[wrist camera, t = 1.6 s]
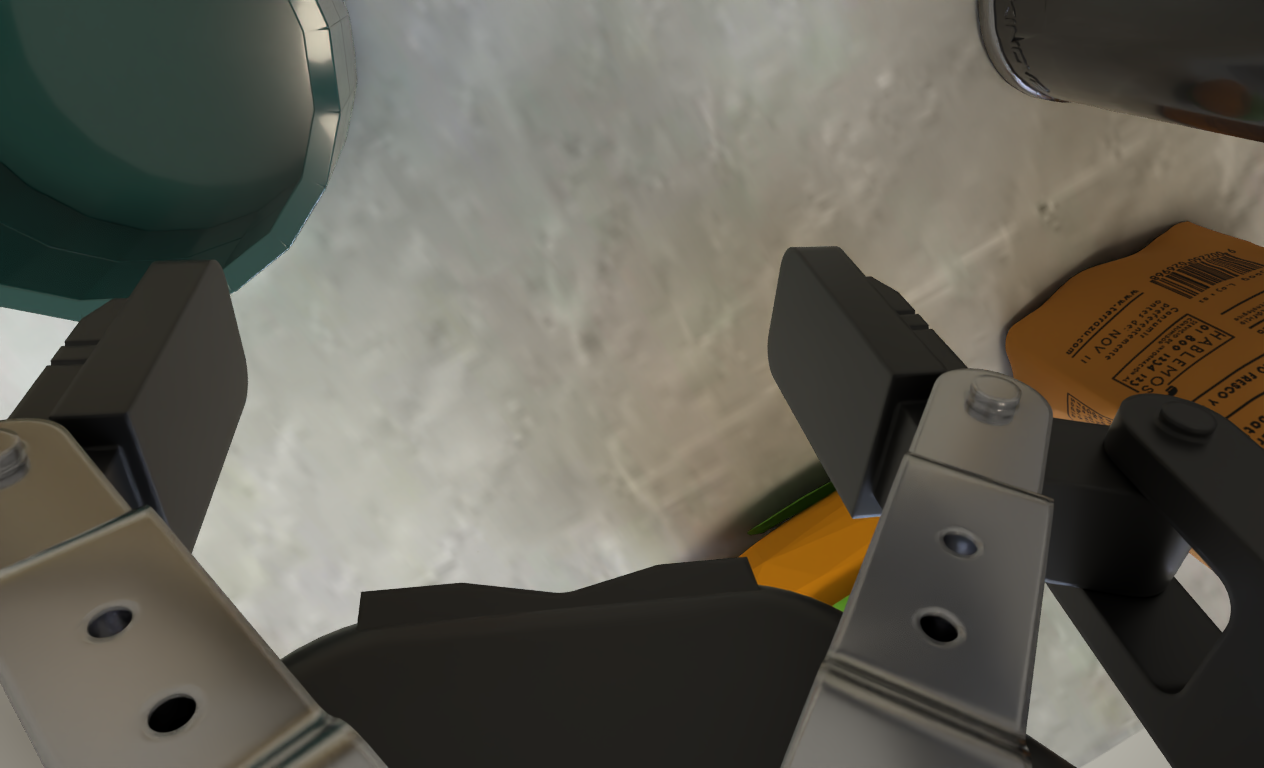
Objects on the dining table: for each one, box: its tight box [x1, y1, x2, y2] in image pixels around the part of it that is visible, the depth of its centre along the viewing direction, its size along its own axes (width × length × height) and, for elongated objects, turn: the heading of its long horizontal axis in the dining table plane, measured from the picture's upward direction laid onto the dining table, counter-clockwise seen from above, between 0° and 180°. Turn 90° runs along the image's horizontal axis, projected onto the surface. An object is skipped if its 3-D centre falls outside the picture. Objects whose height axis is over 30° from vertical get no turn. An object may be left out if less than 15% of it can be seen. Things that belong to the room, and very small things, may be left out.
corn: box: [739, 482, 880, 612], centre depth 40 cm, size 7×8×20 cm
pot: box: [0, 0, 357, 322], centre depth 24 cm, size 13×13×8 cm
